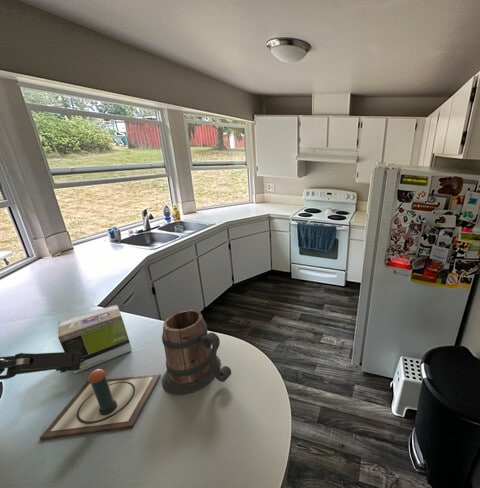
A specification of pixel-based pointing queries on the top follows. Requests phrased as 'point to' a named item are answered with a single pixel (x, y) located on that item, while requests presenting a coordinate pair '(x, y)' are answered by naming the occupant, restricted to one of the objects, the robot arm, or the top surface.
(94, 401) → the sketch board
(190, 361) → the tankard
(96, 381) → the dot stamp
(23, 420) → the top surface
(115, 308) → the tea box
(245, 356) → the top surface
